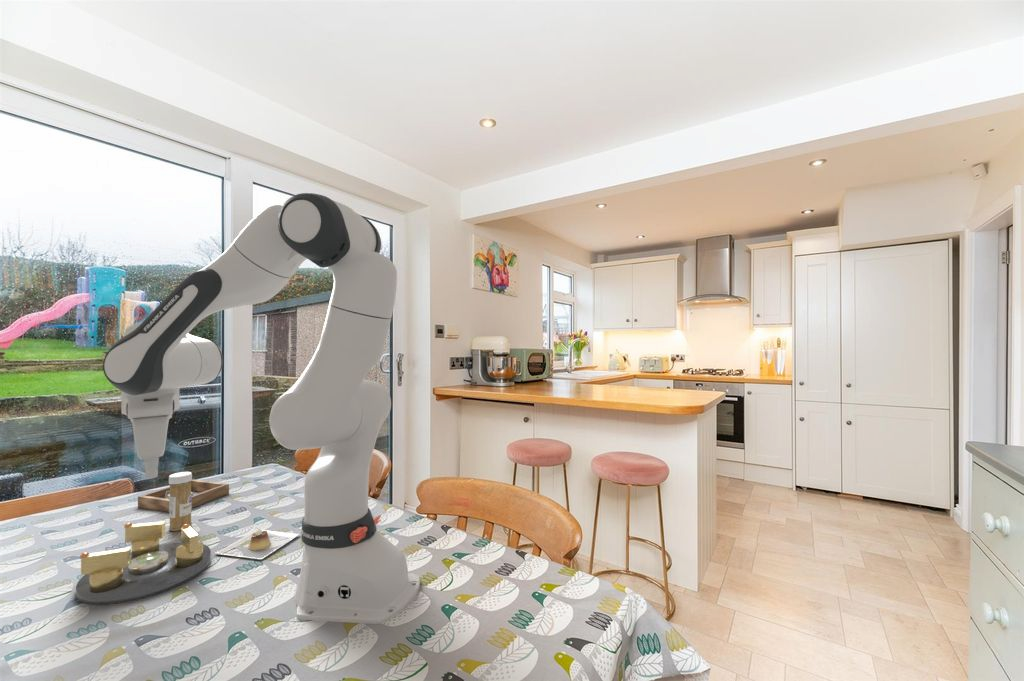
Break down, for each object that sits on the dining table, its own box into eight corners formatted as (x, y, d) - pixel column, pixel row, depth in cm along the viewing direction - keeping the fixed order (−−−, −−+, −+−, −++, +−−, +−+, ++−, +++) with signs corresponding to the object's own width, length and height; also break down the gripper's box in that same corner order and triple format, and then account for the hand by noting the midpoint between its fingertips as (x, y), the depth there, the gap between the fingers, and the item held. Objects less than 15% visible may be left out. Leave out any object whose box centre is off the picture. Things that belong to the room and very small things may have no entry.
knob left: (133, 575, 80) (133, 540, 80) (124, 587, 76) (124, 551, 76) (86, 583, 77) (86, 547, 77) (73, 597, 73) (73, 559, 73)
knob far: (169, 546, 91) (169, 515, 91) (157, 556, 87) (158, 524, 87) (131, 550, 90) (131, 519, 90) (118, 560, 85) (118, 528, 85)
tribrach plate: (233, 558, 91) (233, 538, 91) (127, 617, 71) (127, 592, 71) (164, 545, 96) (164, 527, 96) (47, 597, 76) (47, 575, 76)
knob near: (207, 562, 85) (207, 529, 85) (180, 571, 82) (180, 537, 82) (197, 551, 89) (197, 519, 89) (171, 559, 86) (171, 526, 86)
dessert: (257, 533, 103) (257, 514, 103) (300, 538, 101) (300, 518, 101) (214, 558, 91) (214, 536, 91) (261, 564, 89) (261, 542, 89)
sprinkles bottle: (191, 528, 104) (191, 474, 104) (167, 533, 102) (167, 477, 102) (192, 522, 108) (192, 469, 108) (169, 526, 106) (169, 472, 106)
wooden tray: (228, 493, 128) (229, 483, 128) (178, 513, 114) (178, 502, 114) (191, 489, 132) (191, 479, 132) (137, 507, 118) (137, 496, 118)
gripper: (133, 399, 90) (133, 463, 90) (126, 410, 74) (127, 488, 74) (170, 396, 94) (171, 458, 94) (172, 406, 78) (173, 480, 78)
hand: (152, 472), depth 84 cm, fingers open, 8 cm apart
